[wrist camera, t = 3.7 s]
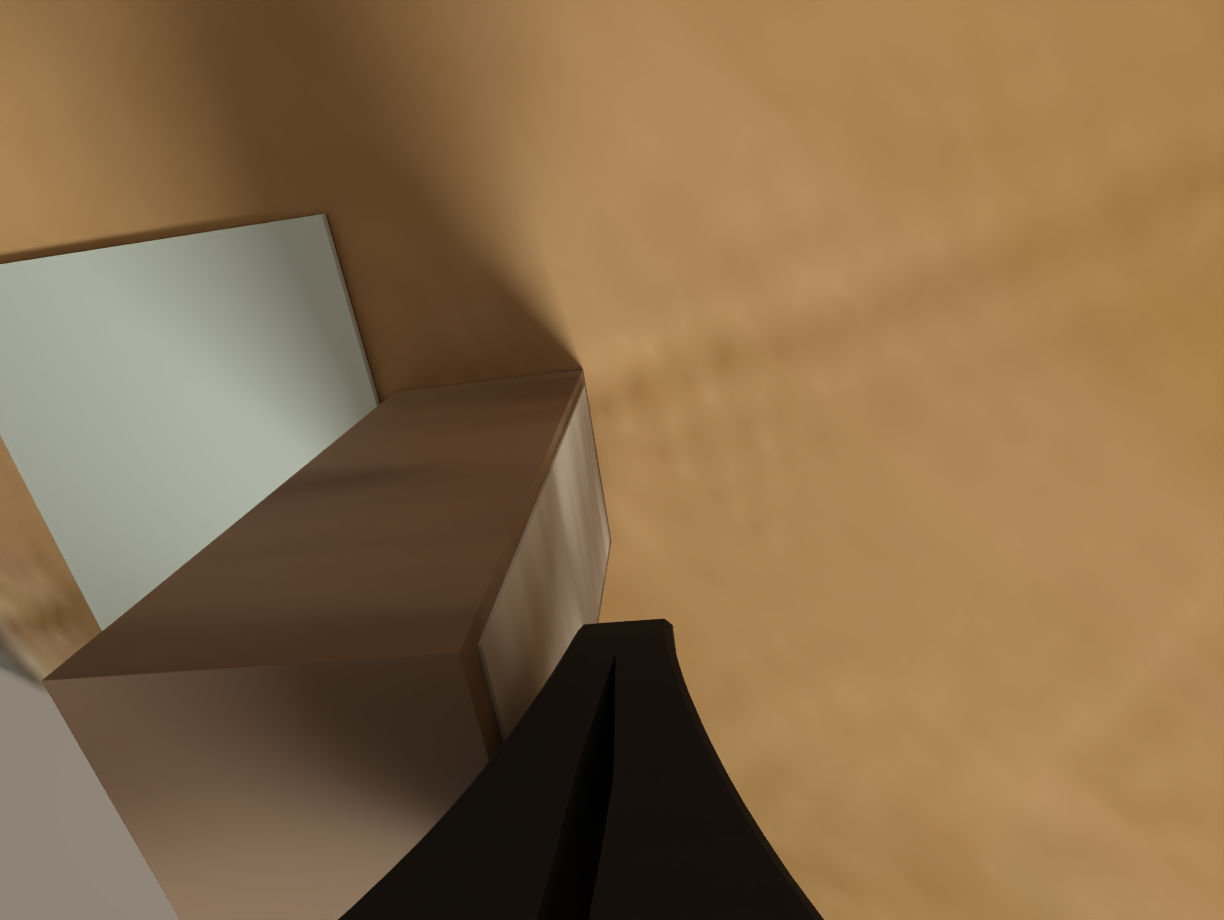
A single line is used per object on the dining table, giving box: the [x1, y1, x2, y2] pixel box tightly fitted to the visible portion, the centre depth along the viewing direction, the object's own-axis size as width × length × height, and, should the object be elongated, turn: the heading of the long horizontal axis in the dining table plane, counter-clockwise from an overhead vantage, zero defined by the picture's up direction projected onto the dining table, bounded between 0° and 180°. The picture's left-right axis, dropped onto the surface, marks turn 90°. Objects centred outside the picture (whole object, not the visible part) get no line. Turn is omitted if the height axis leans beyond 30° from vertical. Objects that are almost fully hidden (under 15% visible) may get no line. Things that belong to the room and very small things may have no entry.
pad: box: [0, 214, 380, 631], centre depth 20 cm, size 14×11×1 cm
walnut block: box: [42, 369, 611, 920], centre depth 14 cm, size 5×5×11 cm
